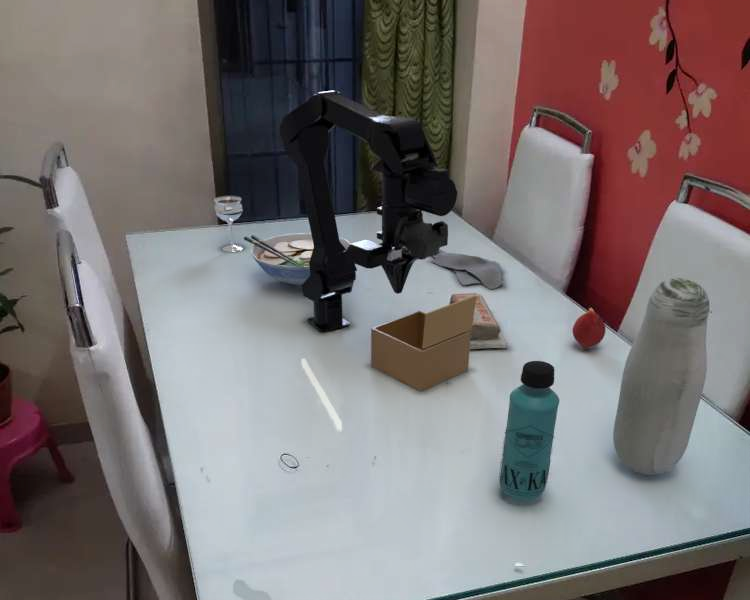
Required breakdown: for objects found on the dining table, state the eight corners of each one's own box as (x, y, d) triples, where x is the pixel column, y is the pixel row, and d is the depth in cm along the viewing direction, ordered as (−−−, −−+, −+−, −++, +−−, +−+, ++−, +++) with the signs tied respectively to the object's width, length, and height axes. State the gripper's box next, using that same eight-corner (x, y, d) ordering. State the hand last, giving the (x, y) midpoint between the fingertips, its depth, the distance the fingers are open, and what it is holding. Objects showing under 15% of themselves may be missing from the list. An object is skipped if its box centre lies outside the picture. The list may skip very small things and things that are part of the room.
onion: (604, 345, 148) (611, 305, 144) (598, 357, 144) (605, 317, 140) (574, 339, 150) (580, 300, 146) (567, 351, 146) (572, 311, 142)
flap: (470, 328, 135) (471, 329, 135) (421, 347, 129) (423, 348, 129) (474, 295, 132) (476, 295, 131) (425, 313, 125) (427, 314, 125)
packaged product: (440, 291, 158) (489, 289, 159) (439, 313, 161) (487, 312, 162) (456, 328, 143) (510, 325, 144) (455, 352, 146) (507, 349, 147)
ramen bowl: (377, 287, 173) (377, 250, 169) (286, 310, 162) (284, 272, 158) (319, 255, 191) (318, 222, 186) (233, 274, 180) (230, 239, 175)
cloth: (524, 285, 174) (525, 275, 173) (468, 292, 171) (469, 282, 169) (473, 248, 195) (474, 239, 194) (422, 255, 191) (423, 245, 190)
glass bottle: (694, 479, 111) (744, 292, 96) (630, 491, 109) (672, 301, 94) (654, 443, 119) (695, 265, 104) (594, 453, 117) (627, 273, 102)
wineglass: (219, 244, 198) (214, 196, 191) (246, 243, 198) (242, 195, 192) (218, 253, 192) (212, 203, 185) (245, 252, 193) (241, 203, 186)
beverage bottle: (492, 483, 110) (505, 355, 100) (539, 481, 111) (557, 353, 100) (503, 511, 105) (518, 378, 94) (551, 508, 106) (572, 376, 95)
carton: (468, 370, 140) (471, 332, 136) (420, 391, 133) (422, 352, 129) (418, 347, 148) (419, 310, 144) (371, 366, 141) (371, 328, 137)
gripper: (390, 225, 118) (389, 321, 127) (474, 202, 129) (468, 292, 137) (343, 209, 125) (345, 301, 134) (426, 189, 136) (423, 275, 144)
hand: (397, 292), depth 137 cm, fingers closed
